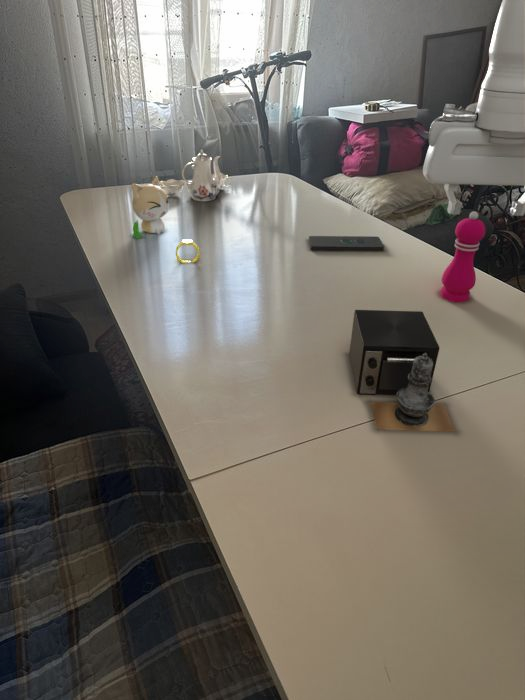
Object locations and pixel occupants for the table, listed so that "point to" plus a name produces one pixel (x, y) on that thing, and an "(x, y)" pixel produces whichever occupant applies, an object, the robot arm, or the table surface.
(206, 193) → the chinaware
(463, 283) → the pepper mill
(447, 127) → the robot arm
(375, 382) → the oven
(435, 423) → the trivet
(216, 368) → the table surface
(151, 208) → the kitten
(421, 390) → the gray stone statue
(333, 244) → the smart home device
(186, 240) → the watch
